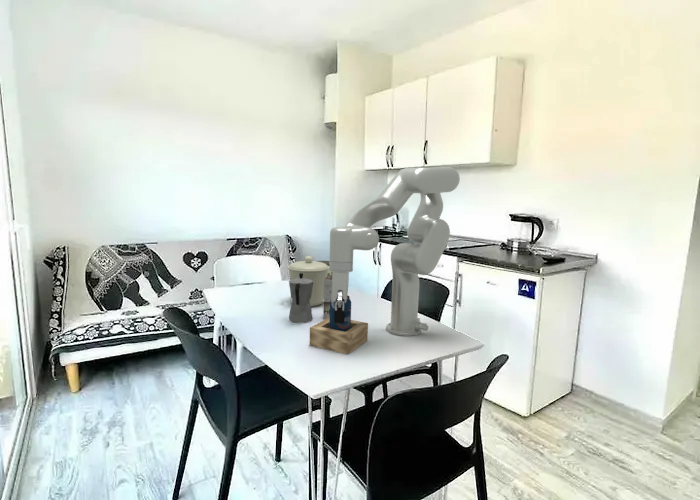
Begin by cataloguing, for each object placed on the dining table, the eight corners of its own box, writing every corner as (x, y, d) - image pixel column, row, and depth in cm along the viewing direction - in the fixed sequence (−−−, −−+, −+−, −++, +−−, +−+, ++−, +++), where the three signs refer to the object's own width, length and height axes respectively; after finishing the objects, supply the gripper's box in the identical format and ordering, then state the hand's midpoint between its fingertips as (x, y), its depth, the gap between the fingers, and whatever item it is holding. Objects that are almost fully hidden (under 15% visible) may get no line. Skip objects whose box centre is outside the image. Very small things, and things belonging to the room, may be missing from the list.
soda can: (339, 337, 131) (340, 300, 129) (324, 331, 136) (325, 296, 134) (354, 332, 136) (355, 296, 134) (339, 327, 141) (340, 292, 139)
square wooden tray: (367, 340, 139) (368, 323, 138) (348, 354, 127) (348, 335, 126) (331, 332, 145) (331, 316, 145) (309, 345, 133) (309, 327, 132)
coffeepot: (291, 313, 166) (292, 269, 164) (315, 314, 166) (316, 270, 163) (283, 326, 151) (283, 277, 148) (309, 327, 150) (309, 278, 148)
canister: (321, 297, 193) (322, 252, 190) (334, 307, 176) (335, 258, 173) (282, 299, 186) (283, 253, 183) (292, 311, 170) (293, 260, 167)
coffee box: (338, 321, 158) (339, 280, 156) (322, 320, 159) (323, 278, 157) (344, 314, 167) (345, 275, 165) (328, 313, 168) (329, 274, 166)
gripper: (330, 261, 141) (329, 309, 143) (327, 271, 124) (326, 326, 126) (352, 261, 141) (351, 310, 143) (353, 271, 124) (351, 327, 126)
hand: (339, 317), depth 135 cm, fingers open, 9 cm apart
